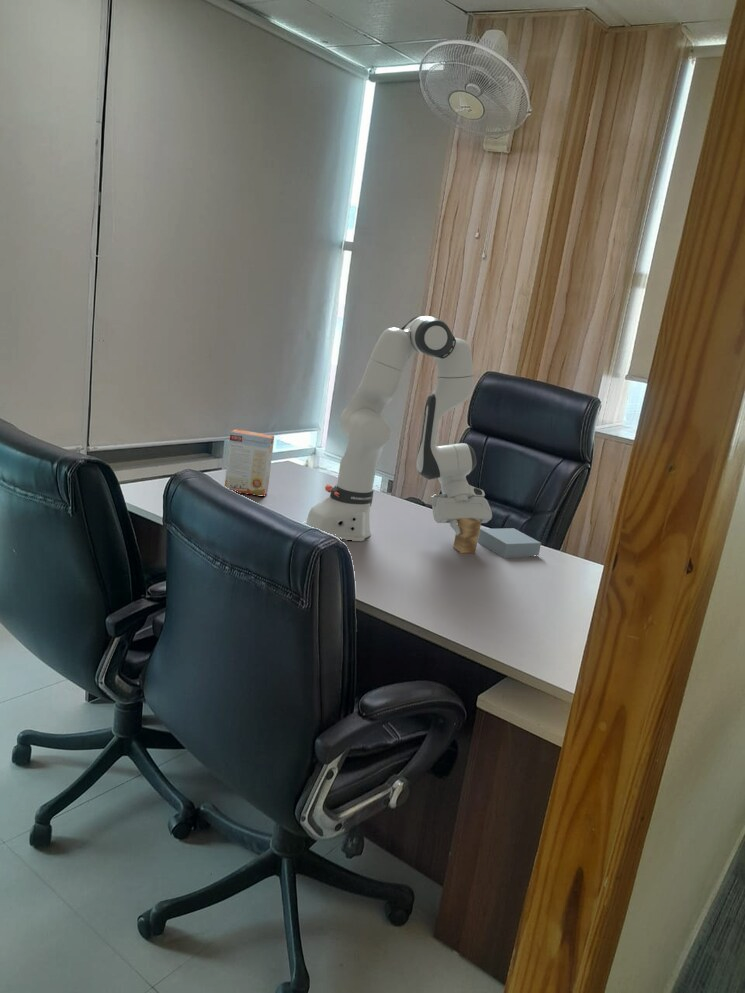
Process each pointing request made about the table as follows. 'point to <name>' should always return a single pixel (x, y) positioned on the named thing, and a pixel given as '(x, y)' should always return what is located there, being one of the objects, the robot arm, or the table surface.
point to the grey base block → (509, 542)
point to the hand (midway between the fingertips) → (468, 534)
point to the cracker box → (249, 462)
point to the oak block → (467, 535)
